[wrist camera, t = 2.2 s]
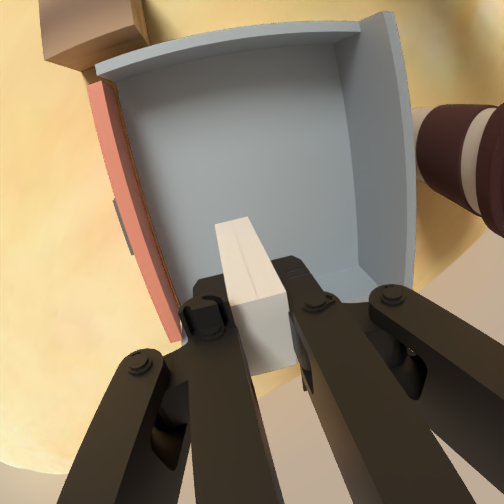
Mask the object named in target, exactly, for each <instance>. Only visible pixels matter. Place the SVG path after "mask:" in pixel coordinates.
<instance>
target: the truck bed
mask: <svg viewBox="0 0 504 504" xmlns="http://www.w3.org/2000/svg"><path fill="white" fill-rule="evenodd" d="M95 69H96V74H97V76H99V77H102V78H104V79H107V80H110V81H112V82H115V83H116V87H117V92H118V96H119V101H120V106H121V110H122V114H123V119H124V123H125V127H126V131H127V135H128V139H129V143H130V147H131V151H132V155H133V159H134V162H135V166H136V170H137V173H138V177H139V181H140V184H141V188H142V191H143V195H144V198H145V201H146V205H147V208H148V211H149V215H150V218H151V221H152V224H153V227H154V231H155V234H156V237H157V240H158V243H159V246H160V249H161V252H162V255H163V258H164V261H165V264H166V267H167V270H168V272H169V275H170V278H171V281H172V284H173V287H174V289H175V292H176V295H177V298H178V300H179V303H180V306H182V305H183V304H184V303H185V302H186V301H187V300H189V299H191V298H192V297H193V287H194V285H195V284H196V282H197V280H198V279H202V278H206V277H210V276H214V275H218V274H222V273H223V269H222V263H221V258H220V252H219V247H218V241H217V236H216V230H215V224H218V223H222V222H227V221H231V220H235V219H239V218H243V217H248V219H249V220H250V222H251V224H252V226H253V228H254V230H255V232H256V234H257V236H258V238H259V240H260V242H261V244H262V246H263V247H264V249H265V251H266V253H267V255H268V257H269V259H270V260H274V259H278V258H282V257H286V256H290V255H293V256H295V257H297V258H299V259H301V260H302V261H303V263H304V264H305V265H306V268H308V270H309V271H310V273H311V274H312V275H313V277H314V278H315V280H316V281H317V282H318V284H319V285H320V287H321V288H322V289H323V291H326V292H329V293H332V294H334V295H335V296H337V297H338V298H339V299H340V301H341V302H342V303H359V302H369V295H370V293H371V291H372V290H374V289H375V288H376V287H379V286H382V285H386V284H398V285H402V286H405V287H408V288H410V289H411V290H412V284H413V273H414V259H415V240H416V166H415V147H414V134H413V123H412V113H411V104H410V96H409V89H408V82H407V76H406V70H405V64H404V58H403V53H402V48H401V43H400V38H399V34H398V29H397V25H396V21H395V17H394V13H393V12H388V11H381V12H379V13H377V14H374V15H372V16H370V17H368V18H365V19H363V20H361V21H359V22H355V21H302V22H284V23H271V24H261V25H252V26H244V27H237V28H230V29H224V30H218V31H212V32H207V33H202V34H197V35H192V36H188V37H183V38H179V39H175V40H171V41H167V42H163V43H159V44H155V45H152V46H148V47H145V48H141V49H138V50H135V51H132V52H129V53H126V54H123V55H120V56H117V57H114V58H111V59H108V60H105V61H103V62H100V63H97V64H95ZM187 342H188V337H187V335H186V333H185V330H184V328H183V325H182V343H181V345H182V346H184V345H185V344H186V343H187Z"/></svg>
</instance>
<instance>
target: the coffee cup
mask: <svg viewBox="0 0 504 504" xmlns="http://www.w3.org/2000/svg"><path fill="white" fill-rule="evenodd" d="M411 113H412V123H413V134H414V147H415V166H416V179H418V180H420V181H422V182H424V183H426V184H427V185H428V186H429V187H430V188H432V189H433V190H434V191H436V192H437V193H439V194H441V195H443V196H445V197H446V198H448V199H450V200H451V201H453V202H455V203H457V204H458V205H460V206H462V207H463V208H465V209H467V210H468V211H470V212H471V213H473V214H475V215H477V216H480V217H482V219H483V221H484V222H485V224H486V225H487V227H488V228H489V229H490V230H492V231H493V232H494V233H496V234H498V235H499V236H501V237H503V238H504V103H503V104H501V105H500V106H499V107H497V106H493V105H473V104H447V105H441V106H438V107H420V108H415V109H413V110H411Z"/></svg>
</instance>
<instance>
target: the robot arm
mask: <svg viewBox="0 0 504 504" xmlns="http://www.w3.org/2000/svg"><path fill="white" fill-rule="evenodd" d="M215 230H216V236H217V241H218V247H219V252H220V258H221V263H222V269H223V273H222V274H218V275H214V276H210V277H206V278H202V279H198V280H197V282H196V284H195V285H194V287H193V297H192V298H191V299H189V300H187V301H186V302H185V303H184V304H183V305H182V306H181V307H180V309H179V312H178V315H179V317H180V320H181V322H182V325H183V328H184V330H185V333H186V335H187V337H188V342H187V343H186V344H185V345H184V346H182V347H181V348H179V349H178V350H176V351H174V352H172V353H169V354H167V355H165V356H162V354H161V353H160V352H159V351H157V350H155V349H149V348H147V349H140V350H137V351H135V352H133V353H131V354H129V355H128V356H127V357H125V358H124V359H123V360H122V362H121V363H120V364H119V366H118V368H117V370H116V372H115V374H114V376H113V378H112V380H111V382H110V384H109V386H108V388H107V390H106V392H105V394H104V396H103V398H102V401H101V403H100V405H99V407H98V409H97V411H96V413H95V415H94V417H93V420H92V422H91V424H90V426H89V428H88V430H87V433H86V435H85V437H84V439H83V441H82V444H81V446H80V448H79V451H78V453H77V455H76V457H75V460H74V462H73V464H72V467H71V469H70V471H69V474H68V476H67V479H66V481H65V484H64V486H63V488H62V491H61V494H60V496H59V499H58V502H57V504H177V503H178V498H179V494H180V489H181V484H182V479H183V475H184V471H185V466H186V462H187V457H188V453H189V448H190V444H191V448H192V462H193V475H194V486H195V497H196V504H284V500H283V497H282V492H281V489H280V486H279V482H278V478H277V474H276V471H275V467H274V463H273V459H272V456H271V452H270V448H269V444H268V440H267V437H266V433H265V429H264V425H263V421H262V417H261V413H260V409H259V405H258V401H257V397H256V393H255V389H254V386H253V383H252V379H251V376H255V375H259V374H263V373H266V372H270V371H274V370H278V369H281V368H285V367H288V366H292V365H295V364H297V358H298V361H299V363H300V367H301V375H302V382H303V389H304V391H307V390H308V392H309V395H310V398H311V400H312V403H313V405H314V407H315V410H316V413H317V415H318V418H319V420H320V422H321V425H322V427H323V430H324V432H325V435H326V437H327V440H328V442H329V445H330V447H331V449H332V452H333V454H334V457H335V459H336V462H337V464H338V467H339V469H340V471H341V474H342V476H343V479H344V482H345V484H346V486H347V489H348V491H349V494H350V496H351V499H352V501H353V504H476V502H475V501H474V499H473V497H472V496H471V494H470V492H469V491H468V489H467V487H466V486H465V484H464V482H463V481H462V479H461V477H460V476H459V474H458V473H457V471H456V469H455V468H454V466H453V464H452V463H451V461H450V460H449V458H448V457H447V455H446V453H445V452H444V451H443V449H442V447H441V445H440V444H439V442H438V441H437V439H436V438H435V436H434V435H433V433H432V432H431V430H432V431H433V432H434V433H435V434H436V435H437V436H439V437H440V438H441V439H442V440H443V441H444V442H445V443H446V444H448V445H449V446H450V447H451V448H452V449H453V450H454V451H455V452H456V453H458V454H459V455H460V456H461V457H462V458H463V459H464V460H465V461H467V462H468V463H469V464H470V465H471V466H472V467H473V468H474V469H476V470H477V471H478V472H479V473H480V474H481V475H482V476H484V477H485V478H486V479H487V480H488V481H489V482H490V483H491V484H493V485H494V486H495V487H496V488H497V489H498V490H499V491H501V492H502V493H503V494H504V346H503V345H502V344H500V343H499V342H497V341H496V340H494V339H492V338H491V337H489V336H488V335H486V334H484V333H483V332H481V331H480V330H478V329H476V328H475V327H473V326H472V325H470V324H468V323H467V322H465V321H463V320H462V319H460V318H458V317H457V316H455V315H454V314H452V313H450V312H449V311H447V310H445V309H443V308H442V307H440V306H438V305H437V304H435V303H434V302H432V301H430V300H428V299H427V298H425V297H423V296H421V295H420V294H418V293H416V292H415V291H413V290H411V289H410V288H408V287H405V286H402V285H398V284H386V285H382V286H379V287H376V288H375V289H374V290H372V291H371V293H370V295H369V302H359V303H342V302H341V301H340V299H339V298H338V297H337V296H335V295H334V294H332V293H329V292H326V291H323V289H322V288H321V287H320V285H319V284H318V282H317V281H316V280H315V278H314V277H313V275H312V274H311V273H310V271H309V270H308V268H306V265H305V264H304V263H303V261H302V260H301V259H299V258H297V257H295V256H293V255H290V256H286V257H282V258H278V259H274V260H270V259H269V257H268V255H267V253H266V251H265V249H264V247H263V246H262V244H261V242H260V240H259V238H258V236H257V234H256V232H255V230H254V228H253V226H252V224H251V222H250V220H249V219H248V217H243V218H239V219H235V220H231V221H227V222H222V223H218V224H215ZM411 350H412V351H413V352H412V351H411ZM296 356H297V358H296ZM430 429H431V430H430Z"/></svg>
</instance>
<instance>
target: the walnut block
mask: <svg viewBox="0 0 504 504" xmlns="http://www.w3.org/2000/svg"><path fill="white" fill-rule="evenodd" d="M39 13H40V26H41V37H42V46H43V54H44V60H45V61H48V62H52V63H55V64H58V65H61V66H65V67H68V68H71V69H74V70H77V71H80V72H82V71H84V70H87V69H89V68H92V67H94V66H95V64H97V63H100V62H103V61H105V60H108V59H111V58H114V57H117V56H120V55H123V54H126V53H129V52H132V51H135V50H138V49H141V48H145V47H148V46H150V43H149V38H148V32H147V27H146V21H145V16H144V10H143V4H142V0H39Z"/></svg>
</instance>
